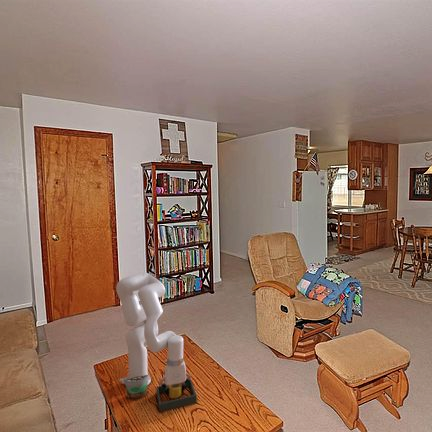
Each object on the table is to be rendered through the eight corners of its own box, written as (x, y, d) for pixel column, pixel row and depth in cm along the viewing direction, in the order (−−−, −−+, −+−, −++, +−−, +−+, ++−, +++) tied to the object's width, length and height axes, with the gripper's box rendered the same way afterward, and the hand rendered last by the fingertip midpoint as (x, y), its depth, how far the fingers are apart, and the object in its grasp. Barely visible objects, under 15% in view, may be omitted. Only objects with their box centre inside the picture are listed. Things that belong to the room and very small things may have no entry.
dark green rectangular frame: (159, 412, 165) (159, 404, 164) (156, 393, 179) (156, 386, 178) (196, 402, 172) (196, 395, 172) (191, 385, 186) (190, 379, 186)
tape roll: (169, 399, 171) (169, 390, 171) (167, 392, 177) (167, 382, 177) (182, 396, 174) (182, 387, 174) (180, 389, 180) (180, 380, 179)
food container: (124, 403, 170) (123, 384, 169) (123, 396, 176) (123, 378, 175) (150, 397, 176) (150, 378, 175) (149, 390, 181) (149, 372, 180)
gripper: (158, 367, 166) (157, 401, 168) (194, 361, 174) (193, 393, 176) (156, 360, 173) (156, 392, 175) (191, 353, 181) (190, 385, 183)
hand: (175, 393), depth 176 cm, fingers closed on tape roll, 6 cm apart
